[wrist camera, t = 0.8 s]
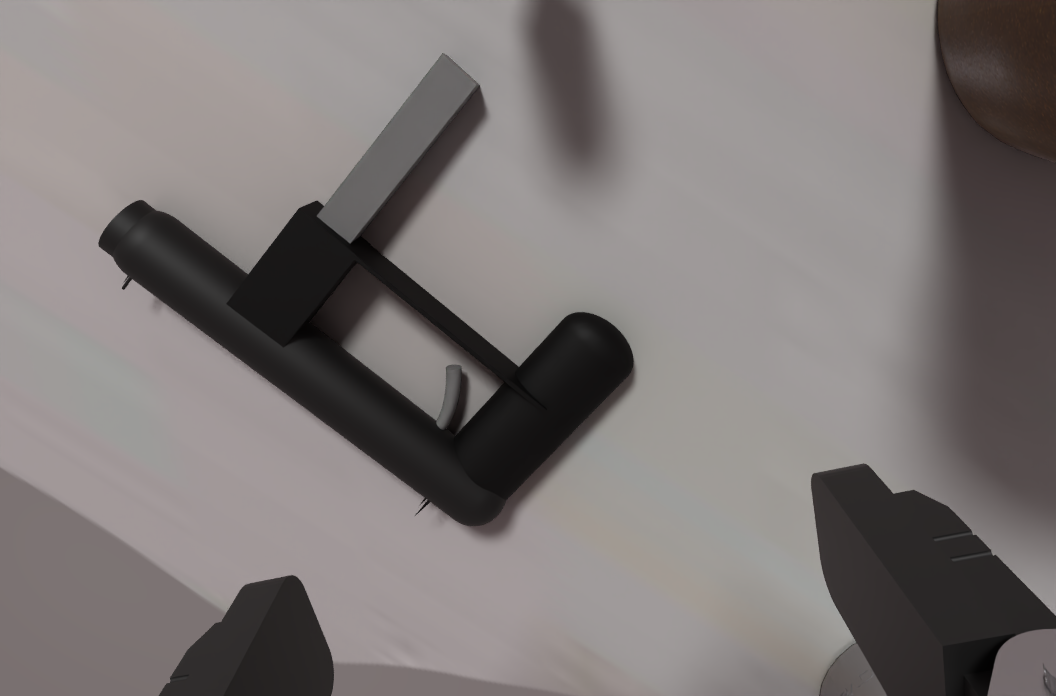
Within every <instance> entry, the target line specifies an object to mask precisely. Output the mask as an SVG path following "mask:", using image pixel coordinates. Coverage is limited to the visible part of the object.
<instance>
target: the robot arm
mask: <svg viewBox="0 0 1056 696" xmlns="http://www.w3.org/2000/svg"><path fill="white" fill-rule="evenodd" d="M811 489H812V497H813V505H814V513H815V521H816V528H817V536H818V544H819V552H820V560H821V565H822V570H823V574H824V578H825V581H826V584H827V587H828V590H829V593H830V595H831V597H832V600H833V602H834V604H835V606H836V608H837V609H838V611H839V613H840V614H841V616H842V618H843V620H844V621H845V623H846V625H847V627H848V628H849V630H850V632H851V634H852V635H853V637H854V639H855V641H856V642H857V643H856V644H854V645H852V646H851V647H850V648H849V649H848V650H846V651H845V652H844V653H843V654H842V655H841V656H839V657H838V659H837V660H836V661H835V663H834V664H833V665H832V667H831V668H830V669H829V670H828V673H827V675H826V677H825V679H824V681H823V684H822V688H821V694H820V696H1056V616H1055V615H1054V614H1053V613H1052V612H1051V611H1050V610H1049V609H1048V608H1047V607H1046V606H1045V604H1044V603H1043V602H1042V601H1041V600H1040V599H1039V598H1038V597H1037V596H1036V595H1035V594H1034V593H1033V592H1032V591H1031V590H1030V589H1029V588H1028V587H1027V586H1026V585H1025V584H1024V583H1023V582H1022V581H1021V580H1020V579H1019V578H1018V577H1017V576H1016V575H1015V574H1014V573H1013V572H1012V571H1011V570H1010V569H1009V568H1008V567H1007V566H1006V565H1005V564H1004V563H1003V562H1002V561H1001V560H1000V559H999V558H998V557H997V556H996V555H994V556H993V555H992V553H991V550H990V549H989V548H988V547H987V546H986V545H985V544H984V543H983V541H982V540H981V539H980V538H979V537H978V536H977V535H973V534H972V531H971V529H970V528H969V527H968V526H967V525H966V524H965V523H964V522H963V521H962V520H961V519H960V518H959V517H958V516H957V515H956V514H955V513H954V512H953V511H952V510H951V509H950V508H949V507H948V506H946V505H944V504H942V503H940V502H938V501H936V500H933V499H931V498H929V497H927V496H925V495H923V494H921V493H919V492H917V491H915V490H911V491H905V492H900V493H895V494H893V493H892V492H891V490H890V489H889V488H888V487H887V486H886V485H885V484H884V482H883V481H882V480H881V479H880V478H879V477H878V476H877V475H876V473H875V472H874V471H873V470H872V469H871V468H870V467H869V466H868V465H867V464H859V465H854V466H849V467H844V468H839V469H834V470H829V471H824V472H819V473H814V474H813V475H812V478H811ZM170 680H171V681H170V683H167V684H166V685H165V687H164V688H163V690H162V692H161V693H160V695H159V696H331V694H332V689H333V681H334V668H333V661H332V656H331V652H330V649H329V647H328V644H327V642H326V639H325V637H324V635H323V632H322V630H321V627H320V625H319V622H318V620H317V617H316V615H315V613H314V610H313V608H312V605H311V603H310V600H309V598H308V595H307V593H306V591H305V588H304V586H303V584H302V582H301V581H300V580H299V579H298V578H297V577H296V576H293V575H291V576H285V577H280V578H275V579H270V580H265V581H260V582H255V583H250V584H247V585H245V586H244V587H242V589H241V590H240V592H239V593H238V595H237V596H236V598H235V600H234V601H233V603H232V605H231V606H230V608H229V610H228V611H227V613H226V615H225V617H224V618H223V620H222V622H219V623H215V624H214V625H213V626H212V627H211V628H210V629H209V630H208V631H207V632H206V633H205V634H204V635H203V636H202V637H201V638H200V639H199V640H197V641H196V642H195V643H194V644H193V645H192V646H191V647H190V648H189V649H188V650H187V652H186V653H185V655H184V657H183V658H182V660H181V661H180V663H179V665H178V666H177V668H176V669H175V671H174V672H173V674H172V676H171V677H170Z"/></svg>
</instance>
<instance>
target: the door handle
mask: <svg viewBox="0 0 1056 696" xmlns="http://www.w3.org/2000/svg"><path fill="white" fill-rule="evenodd" d="M479 86H480V85H479V84H478V83H477V82H476V81H475V80H473V79H472V78H471V77H470V76H469V75H468V74H467V73H466V72H465V71H464V70H462V69H461V68H460V67H459V66H458V65H457V64H456V63H455V62H454V61H453V60H452V59H450V58H449V57H448V56H447V55H445V54H444V53H442V55H441V56H440V57H439V59H438V60H437V61H436V63H435V64H434V65H433V66H432V68H431V69H430V70H429V72H428V73H427V74H426V75H425V77H424V78H423V79H422V81H421V82H420V83H419V84H418V86H417V87H416V88H415V90H414V91H413V92H412V94H411V95H410V96H409V97H408V99H407V100H406V101H405V103H404V104H403V105H402V106H401V108H400V109H399V110H398V112H397V113H396V114H395V115H394V117H393V118H392V119H391V121H390V122H389V123H388V125H387V126H386V127H385V128H384V130H383V131H382V132H381V134H380V135H379V136H378V137H377V139H376V140H375V141H374V143H373V144H372V145H371V146H370V148H369V149H368V150H367V152H366V153H365V154H364V156H363V157H362V158H361V159H360V161H359V162H358V163H357V165H356V166H355V167H354V168H353V170H352V171H351V172H350V174H349V175H348V176H347V177H346V179H345V180H344V181H343V183H342V184H341V185H340V187H339V188H338V189H337V190H336V192H335V193H334V194H333V196H332V197H331V198H330V199H329V201H328V202H327V203H326V205H325V206H323V205H322V204H321V203H320V202H318V201H315V202H312V203H310V204H308V205H305V206H303V207H301V208H299V209H298V210H297V212H296V213H295V214H294V215H293V217H292V218H291V219H290V221H289V222H288V223H287V225H286V226H285V227H284V229H283V230H282V231H281V233H280V234H279V235H278V236H277V238H276V239H275V240H274V242H273V243H272V244H271V246H270V247H269V248H268V250H267V251H266V252H265V253H264V255H263V256H262V257H261V259H260V260H259V261H258V263H257V264H256V265H255V267H254V268H253V269H252V270H251V272H250V273H249V274H247V273H245V272H244V271H243V270H242V269H240V268H239V267H238V266H236V265H235V264H234V263H233V262H231V261H230V260H229V259H227V258H226V257H225V256H224V255H222V254H221V253H220V252H218V251H217V250H216V249H215V248H213V247H212V246H211V245H209V244H208V243H207V242H206V241H204V240H203V239H202V238H200V237H199V236H198V235H197V234H195V233H194V232H193V231H191V230H190V229H189V228H188V227H186V226H185V225H184V224H182V223H181V222H180V221H179V220H177V219H176V218H174V217H173V216H171V215H169V214H167V213H164V212H160V211H156V210H155V209H154V208H152V207H151V206H150V205H148V204H147V203H146V202H145V201H143V200H139V201H136V202H134V203H132V204H130V205H129V206H127V207H126V208H124V209H123V210H122V211H121V212H120V213H119V214H118V215H117V216H116V217H115V218H114V219H113V220H112V221H111V222H110V223H109V224H108V226H107V227H106V228H105V230H104V231H103V233H102V235H101V237H100V239H99V247H100V248H102V249H103V250H104V251H106V252H107V253H108V254H110V255H111V256H112V257H113V258H114V260H115V262H116V264H117V265H118V267H119V268H120V269H121V270H122V271H123V272H124V273H125V274H126V275H128V276H127V278H128V277H129V278H128V280H127V281H126V280H125V281H126V282H125V281H124V282H125V284H124V285H123V287H122V289H123V290H124V289H125V288H126V287H127V285H128V284H129V282H130V281H131V280H132V279H133V280H134V281H136V282H137V283H138V284H140V285H141V286H142V287H144V288H145V289H147V290H148V291H149V292H151V293H152V294H153V295H155V296H156V297H157V298H159V299H160V300H161V301H163V302H164V303H165V304H167V305H168V306H169V307H171V308H172V309H173V310H175V311H176V312H177V313H179V314H180V315H181V316H183V317H184V318H185V319H187V320H188V321H189V322H191V323H192V324H193V325H195V326H196V327H197V328H199V329H200V330H201V331H203V332H204V333H205V334H207V335H208V336H209V337H211V338H212V339H213V340H215V341H216V342H217V343H219V344H220V345H221V346H223V347H224V348H225V349H227V350H228V351H229V352H231V353H232V354H233V355H235V356H236V357H237V358H239V359H240V360H241V361H243V362H244V363H245V364H247V365H248V366H249V367H251V368H252V369H253V370H255V371H256V372H258V373H259V374H260V375H262V376H263V377H264V378H266V379H267V380H268V381H270V382H271V383H272V384H274V385H275V386H276V387H278V388H279V389H280V390H282V391H283V392H284V393H286V394H287V395H288V396H290V397H291V398H292V399H294V400H295V401H296V402H298V403H299V404H300V405H302V406H303V407H304V408H306V409H307V410H308V411H310V412H311V413H312V414H314V415H315V416H316V417H318V418H319V419H320V420H322V421H323V422H324V423H326V424H327V425H328V426H330V427H331V428H332V429H334V430H335V431H336V432H338V433H339V434H340V435H342V436H343V437H344V438H346V439H347V440H348V441H350V442H351V443H352V444H354V445H355V446H356V447H358V448H359V449H360V450H362V451H363V452H364V453H366V454H367V455H368V456H370V457H371V458H373V459H374V460H375V461H377V462H378V463H379V464H381V465H382V466H383V467H385V468H386V469H387V470H389V471H390V472H391V473H393V474H394V475H395V476H397V477H398V478H399V479H401V480H402V481H403V482H405V483H406V484H407V485H409V486H410V487H411V488H413V489H414V490H415V491H417V492H418V493H419V494H421V495H422V496H423V497H425V499H424V500H423V501H422V503H423V502H424V501H425V500H426V499H427V502H426V503H425V504H424V505H423V506H422V508H421V509H420V510H419V511H418V513H419V512H420V511H421V510H422V509H423V508H424V507H425V506H426V505H428V504H429V503H430V502H431V503H433V504H434V505H435V506H437V507H438V508H439V509H441V510H442V511H443V512H445V513H446V514H447V515H449V516H450V517H451V518H453V519H454V520H455V521H457V522H459V523H461V524H464V525H467V526H480V525H484V524H486V523H489V522H490V521H492V520H493V519H495V518H496V517H497V516H498V515H499V513H500V512H501V511H502V509H503V507H504V505H505V502H506V500H507V499H508V498H509V497H510V496H511V495H512V494H513V493H514V492H515V491H516V490H517V489H518V488H519V487H520V486H521V485H522V484H523V483H524V482H525V480H526V479H527V478H528V477H529V476H530V475H531V474H532V473H533V472H534V471H535V470H536V469H537V468H538V467H539V466H540V465H541V464H542V463H543V462H544V461H545V460H546V459H547V458H548V457H549V456H550V455H551V454H552V453H553V452H554V451H555V450H556V449H557V448H558V447H559V446H560V445H561V444H562V443H563V442H564V441H565V440H566V439H567V438H568V437H569V436H570V435H571V434H572V433H573V432H574V431H575V430H576V429H577V428H578V426H579V425H580V424H581V423H582V422H583V421H584V420H585V419H586V418H587V417H588V416H589V415H590V414H591V413H592V412H593V411H594V410H595V409H596V408H597V407H598V406H599V405H600V404H601V403H602V402H603V401H604V400H605V399H606V398H607V397H608V396H609V395H610V394H611V393H612V392H613V391H614V390H615V389H616V388H617V387H618V386H619V385H620V384H621V383H622V382H623V381H624V380H625V379H626V378H627V377H628V376H629V374H630V373H631V371H632V368H633V354H632V350H631V348H630V346H629V344H628V342H627V340H626V339H625V337H624V336H623V335H622V333H621V332H620V331H619V330H618V329H617V328H616V327H615V326H614V325H612V324H611V323H610V322H608V321H607V320H605V319H603V318H601V317H599V316H597V315H594V314H591V313H585V312H577V313H573V314H570V315H568V316H566V317H565V318H564V319H563V320H562V321H561V322H560V323H559V324H558V326H557V327H556V328H555V329H554V330H553V331H552V332H551V333H550V334H549V335H548V336H547V337H546V339H545V340H544V341H543V342H542V343H541V344H540V345H539V346H538V347H537V348H536V349H535V350H534V351H533V353H532V354H531V355H530V356H529V357H528V358H527V359H526V360H525V361H524V362H523V363H522V364H521V366H520V367H518V366H517V365H516V364H515V363H513V362H512V361H511V360H510V359H508V358H507V357H506V356H505V355H504V354H502V353H501V352H500V351H499V350H498V349H496V348H495V347H494V346H493V345H491V344H490V343H489V342H488V341H487V340H485V339H484V338H483V337H482V336H480V335H479V334H478V333H477V332H476V331H474V330H473V329H472V328H471V327H470V326H468V325H467V324H466V323H465V322H463V321H462V320H461V319H460V318H459V317H457V316H456V315H455V314H454V313H452V312H451V311H450V310H449V309H448V308H446V307H445V306H444V305H443V304H442V303H440V302H439V301H438V300H437V299H435V298H434V297H433V296H432V295H431V294H429V293H428V292H427V291H426V290H424V289H423V288H422V287H421V286H420V285H418V284H417V283H416V282H415V281H413V280H412V279H411V278H410V277H409V276H407V275H406V274H405V273H404V272H403V271H401V270H400V269H399V268H398V267H396V266H395V265H394V264H393V263H392V262H390V261H389V260H388V259H387V258H385V257H384V256H383V255H382V254H381V253H379V252H378V251H377V250H376V249H375V248H373V247H372V246H371V244H370V243H368V242H367V241H366V240H365V239H363V238H362V237H361V236H360V235H361V234H362V233H363V232H364V230H365V229H366V228H367V227H368V225H369V224H370V223H371V222H372V220H373V219H374V218H375V217H376V216H377V214H378V213H379V212H380V211H381V209H382V208H383V207H384V206H385V204H386V203H387V202H388V201H389V199H390V198H391V197H392V196H393V194H394V193H395V192H396V190H397V189H398V188H399V187H400V185H401V184H402V183H403V182H404V180H405V179H406V178H407V177H408V175H409V174H410V173H411V172H412V170H413V169H414V168H415V167H416V165H417V164H418V163H419V161H420V160H421V159H422V158H423V156H424V155H425V154H426V153H427V151H428V150H429V149H430V148H431V146H432V145H433V144H434V143H435V141H436V140H437V139H438V138H439V136H440V135H441V134H442V132H443V131H444V130H445V129H446V127H447V126H448V125H449V124H450V122H451V121H452V120H453V119H454V117H455V116H456V115H457V114H458V112H459V111H460V110H461V108H462V107H463V106H464V105H465V103H466V102H467V101H468V100H469V98H470V97H471V96H472V95H473V93H474V92H475V91H476V90H477V88H478V87H479ZM357 262H358V263H359V264H360V265H362V266H363V267H364V268H365V269H366V270H368V271H369V272H370V273H371V274H373V275H374V276H375V277H376V278H378V279H379V280H380V281H381V282H382V283H384V284H385V285H386V286H387V287H389V288H390V289H391V290H392V291H394V292H395V293H396V294H397V295H399V296H400V297H401V298H402V299H403V300H405V301H406V302H407V303H408V304H410V305H411V306H412V307H413V308H415V309H416V310H417V311H418V312H419V313H421V314H422V315H423V316H424V317H426V318H427V319H428V320H429V321H431V322H432V323H433V324H434V325H435V326H437V327H438V328H439V329H440V330H442V331H443V332H444V333H445V334H447V335H448V336H449V337H450V338H451V339H453V340H454V341H455V342H456V343H458V344H459V345H460V346H461V347H463V348H464V349H465V350H466V351H468V352H469V353H470V354H471V355H472V356H474V357H475V358H476V359H477V360H479V361H480V362H481V363H482V364H484V365H485V366H486V367H487V368H488V369H490V370H491V371H492V372H493V373H495V374H496V375H497V376H498V377H500V378H501V379H502V380H503V381H504V382H505V383H504V384H503V385H502V386H501V387H500V388H499V389H498V390H497V391H496V393H495V394H494V395H493V396H492V397H491V398H490V399H489V400H488V401H487V402H486V403H485V404H484V405H483V407H482V408H481V409H480V410H479V411H478V412H477V413H476V414H475V415H474V416H473V417H472V418H471V420H470V421H469V422H468V423H467V424H466V425H465V426H464V427H463V428H462V429H461V430H460V431H459V433H458V434H457V435H456V436H455V435H454V434H452V433H451V432H450V431H448V430H447V429H446V428H447V426H448V425H449V423H450V421H451V419H452V417H453V415H454V413H455V410H456V407H457V403H458V399H459V395H460V388H461V366H460V365H449V366H447V367H446V389H445V397H444V402H443V406H442V409H441V412H440V415H439V417H438V419H437V421H436V420H434V419H433V418H432V417H430V416H429V415H428V414H427V413H425V412H424V411H423V410H421V409H420V408H419V407H418V406H416V405H415V404H414V403H412V402H411V401H410V400H409V399H407V398H406V397H405V396H404V395H402V394H401V393H400V392H398V391H397V390H396V389H395V388H393V387H392V386H391V385H389V384H388V383H387V382H386V381H384V380H383V379H382V378H380V377H379V376H378V375H377V374H375V373H374V372H373V371H371V370H370V369H369V368H368V367H366V366H365V365H364V364H362V363H361V362H360V361H359V360H357V359H356V358H355V357H353V356H352V355H351V354H350V353H348V352H347V351H346V350H344V349H343V348H342V347H341V346H339V345H338V344H337V343H335V342H334V341H333V340H332V339H330V338H329V337H328V336H326V335H325V334H324V333H323V332H321V331H320V330H319V329H317V328H316V327H315V326H314V325H312V324H311V323H310V322H309V321H310V320H311V319H312V318H313V316H314V315H315V314H316V313H317V311H318V310H319V309H320V308H321V306H322V305H323V304H324V303H325V301H326V300H327V299H328V298H329V296H330V295H331V294H332V293H333V291H334V290H335V289H336V288H337V286H338V285H339V284H340V283H341V281H342V280H343V279H344V278H345V276H346V275H347V274H348V273H349V271H350V270H351V269H352V268H353V266H354V265H355V264H356V263H357ZM127 278H126V279H127ZM422 503H421V504H422ZM418 513H417V514H418ZM417 514H416V515H417ZM416 515H415V516H416Z"/></svg>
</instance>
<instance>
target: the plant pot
mask: <svg viewBox="0 0 1056 696" xmlns="http://www.w3.org/2000/svg"><path fill="white" fill-rule="evenodd" d="M938 30H939V39H940V46H941V52H942V56H943V60H944V64H945V67H946V71H947V74H948V77H949V79H950V81H951V83H952V86H953V88H954V90H955V92H956V94H957V95H958V97H959V99H960V100H961V102H962V104H963V105H964V107H965V108H966V109H967V111H968V112H969V114H970V115H971V116H972V118H973V119H974V120H975V121H976V122H977V123H978V124H979V125H980V126H981V127H982V128H984V129H985V130H986V131H987V132H989V133H990V134H992V135H993V136H994V137H996V138H997V139H998V140H1000V141H1001V142H1003V143H1005V144H1008V145H1010V146H1012V147H1014V148H1017V149H1019V150H1021V151H1023V152H1026V153H1028V154H1031V155H1034V156H1037V157H1040V158H1043V159H1047V160H1049V161H1052V162H1055V163H1056V0H938Z"/></svg>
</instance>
